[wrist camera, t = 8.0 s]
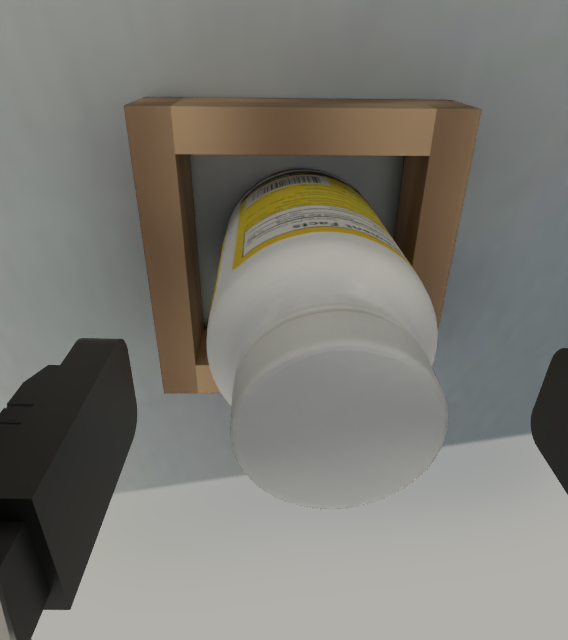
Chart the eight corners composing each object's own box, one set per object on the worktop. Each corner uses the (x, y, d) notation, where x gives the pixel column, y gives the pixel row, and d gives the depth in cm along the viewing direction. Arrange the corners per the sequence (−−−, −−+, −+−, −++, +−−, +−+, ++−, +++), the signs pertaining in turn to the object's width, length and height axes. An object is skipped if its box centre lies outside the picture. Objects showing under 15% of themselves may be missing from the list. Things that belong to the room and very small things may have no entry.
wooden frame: (450, 100, 15) (481, 109, 13) (408, 352, 20) (425, 391, 17) (145, 96, 15) (123, 105, 12) (175, 354, 19) (164, 393, 17)
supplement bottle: (318, 333, 19) (359, 565, 11) (198, 263, 17) (131, 471, 9) (409, 222, 17) (553, 402, 8) (281, 130, 15) (298, 238, 7)
